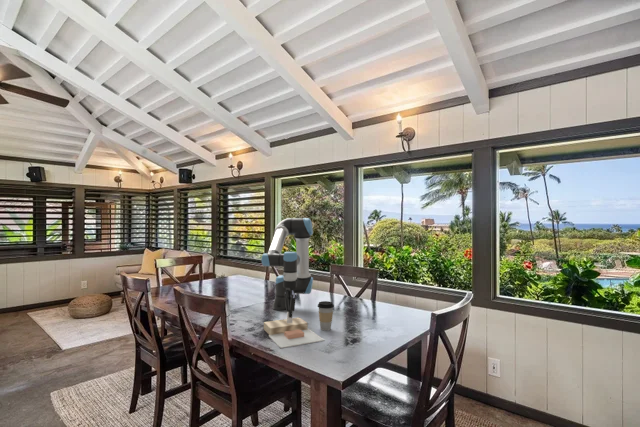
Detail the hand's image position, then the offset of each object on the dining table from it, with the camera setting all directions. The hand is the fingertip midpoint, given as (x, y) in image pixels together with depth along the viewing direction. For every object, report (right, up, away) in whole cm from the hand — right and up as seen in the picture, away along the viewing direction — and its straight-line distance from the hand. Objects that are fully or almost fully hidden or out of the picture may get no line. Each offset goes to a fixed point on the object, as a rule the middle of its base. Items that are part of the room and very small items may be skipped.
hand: (289, 322), depth 179 cm
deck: (-3, -6, +6) cm, 9 cm away
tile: (+3, -3, -6) cm, 7 cm away
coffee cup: (+20, -6, +7) cm, 22 cm away
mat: (+4, -6, -8) cm, 11 cm away
